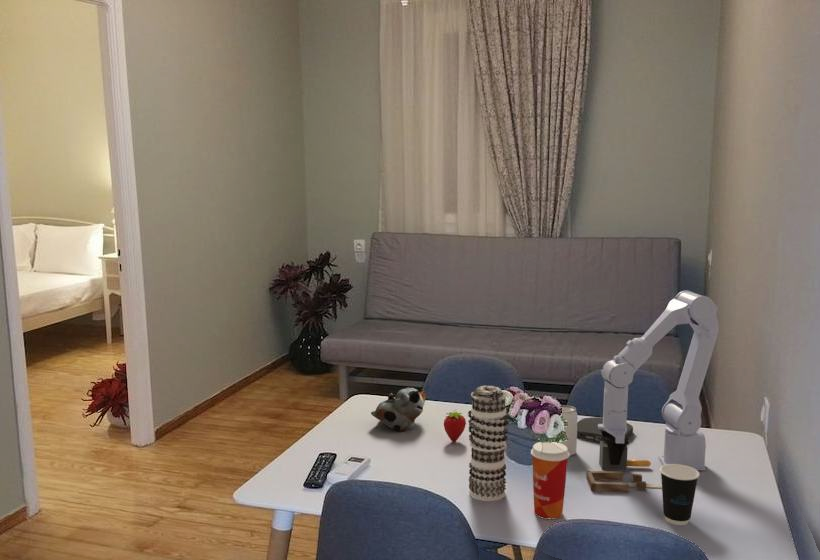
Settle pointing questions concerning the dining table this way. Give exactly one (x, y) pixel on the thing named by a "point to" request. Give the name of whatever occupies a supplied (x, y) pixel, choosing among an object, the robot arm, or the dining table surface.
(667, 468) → the dixie cup
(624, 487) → the holder
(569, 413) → the can
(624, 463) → the grey block with handle
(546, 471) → the coffee cup
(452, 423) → the strawberry
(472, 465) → the decorative candle
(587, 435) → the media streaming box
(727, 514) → the dining table surface
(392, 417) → the lucky cat figurine
